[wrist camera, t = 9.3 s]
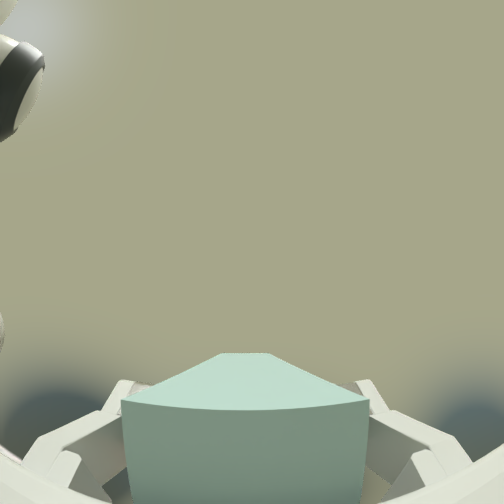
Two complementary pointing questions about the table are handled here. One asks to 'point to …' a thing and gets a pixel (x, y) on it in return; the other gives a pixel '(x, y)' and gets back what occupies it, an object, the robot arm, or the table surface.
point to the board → (245, 436)
